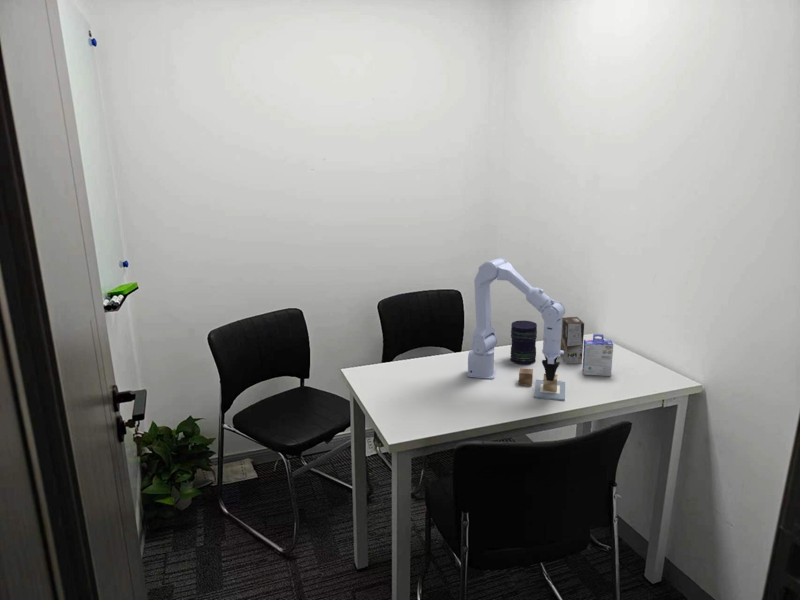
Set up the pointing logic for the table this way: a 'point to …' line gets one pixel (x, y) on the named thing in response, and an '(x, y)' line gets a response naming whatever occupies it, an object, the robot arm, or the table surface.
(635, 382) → the table surface
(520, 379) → the walnut cube
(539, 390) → the board
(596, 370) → the ink cartridge box
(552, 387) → the oak cube
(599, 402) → the table surface
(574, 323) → the coffee box
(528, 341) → the storage jar
